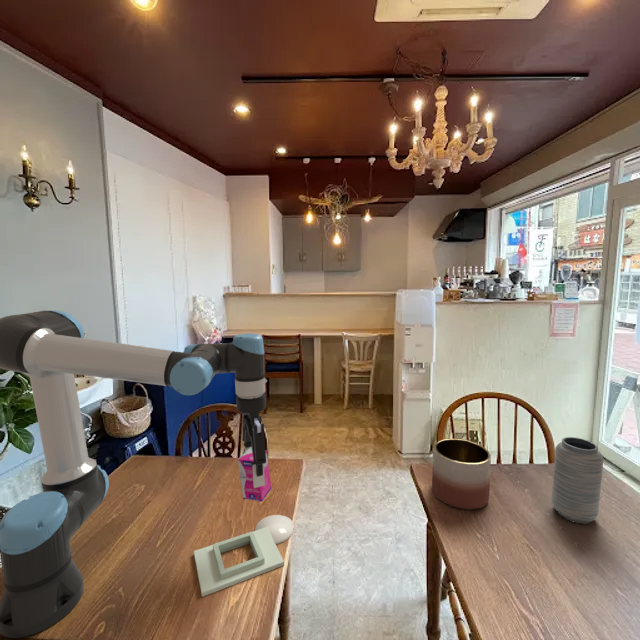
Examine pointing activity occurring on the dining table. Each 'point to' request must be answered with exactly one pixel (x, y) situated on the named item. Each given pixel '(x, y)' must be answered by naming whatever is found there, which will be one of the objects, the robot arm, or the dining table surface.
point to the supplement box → (247, 478)
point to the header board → (220, 578)
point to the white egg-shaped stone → (277, 527)
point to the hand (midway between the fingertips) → (254, 477)
